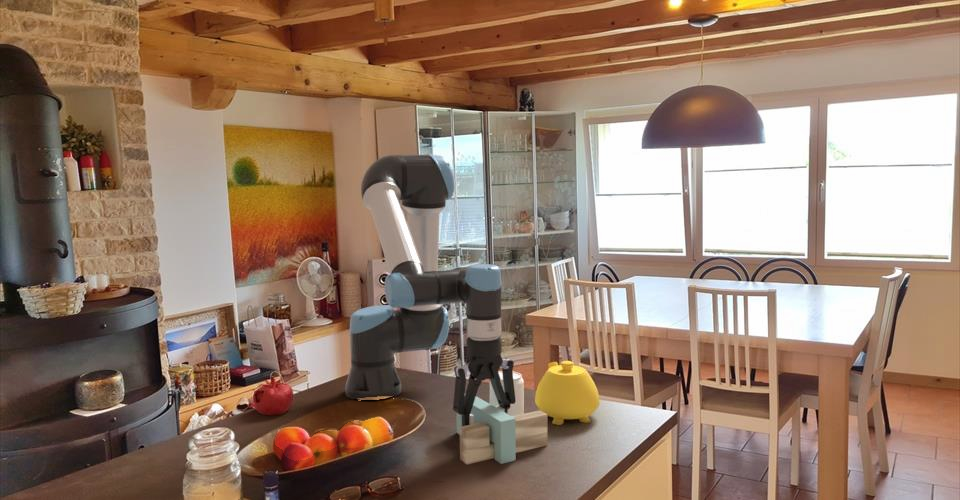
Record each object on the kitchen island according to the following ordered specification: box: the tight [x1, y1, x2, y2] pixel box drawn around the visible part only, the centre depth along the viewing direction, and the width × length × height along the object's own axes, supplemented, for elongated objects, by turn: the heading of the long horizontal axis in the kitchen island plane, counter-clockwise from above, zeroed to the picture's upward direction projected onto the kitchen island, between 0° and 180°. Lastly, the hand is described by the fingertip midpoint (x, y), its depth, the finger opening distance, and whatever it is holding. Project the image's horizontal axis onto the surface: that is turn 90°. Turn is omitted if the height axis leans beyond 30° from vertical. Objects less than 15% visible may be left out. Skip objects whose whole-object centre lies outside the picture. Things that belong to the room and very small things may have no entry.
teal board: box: [455, 395, 517, 465], centre depth 152 cm, size 20×4×9 cm, turn 29°
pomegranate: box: [252, 375, 295, 416], centre depth 176 cm, size 10×10×9 cm
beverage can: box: [488, 370, 525, 416], centre depth 164 cm, size 8×8×12 cm
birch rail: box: [459, 409, 548, 465], centre depth 148 cm, size 3×20×7 cm, turn 119°
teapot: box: [534, 360, 600, 426], centre depth 171 cm, size 20×16×14 cm
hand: (485, 439), depth 152 cm, fingers open, 7 cm apart
